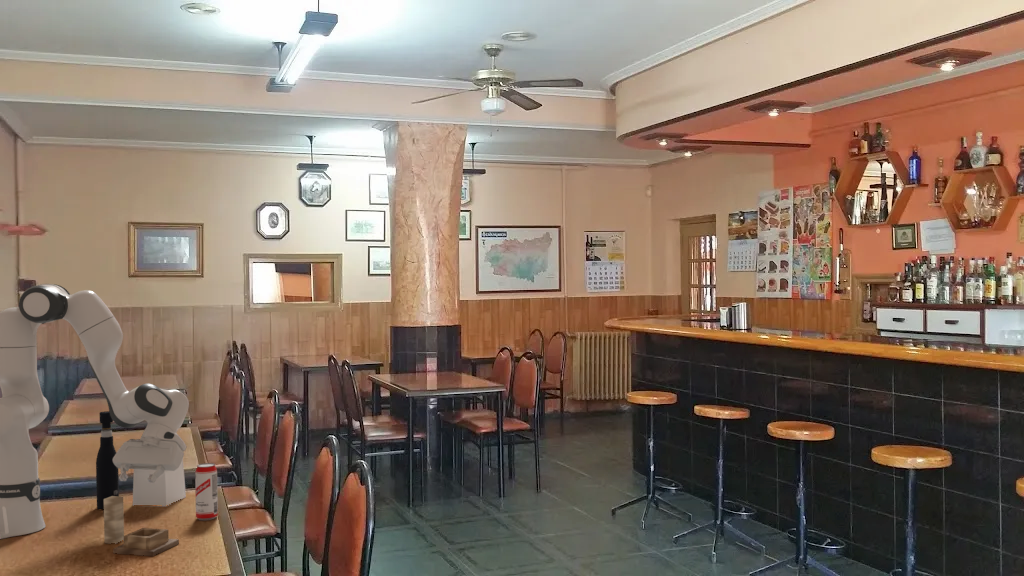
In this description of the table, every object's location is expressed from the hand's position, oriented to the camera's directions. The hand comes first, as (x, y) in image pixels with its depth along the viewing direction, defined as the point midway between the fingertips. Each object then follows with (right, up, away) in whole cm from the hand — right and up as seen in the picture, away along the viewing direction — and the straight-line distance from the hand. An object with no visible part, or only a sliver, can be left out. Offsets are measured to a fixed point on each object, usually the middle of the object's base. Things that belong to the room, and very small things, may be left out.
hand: (136, 480), depth 257 cm
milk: (-7, -14, +35) cm, 39 cm away
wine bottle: (-21, -15, +28) cm, 38 cm away
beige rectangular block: (-2, -15, -9) cm, 17 cm away
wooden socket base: (+9, -15, -16) cm, 24 cm away
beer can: (+15, -14, +14) cm, 25 cm away
